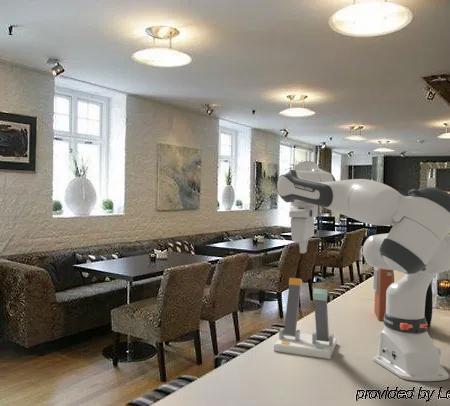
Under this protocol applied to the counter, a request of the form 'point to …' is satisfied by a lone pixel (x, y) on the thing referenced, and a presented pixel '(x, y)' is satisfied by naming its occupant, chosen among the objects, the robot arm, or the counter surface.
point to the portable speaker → (428, 306)
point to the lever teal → (321, 314)
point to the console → (305, 344)
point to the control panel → (381, 290)
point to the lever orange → (292, 306)
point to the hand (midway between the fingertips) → (303, 252)
